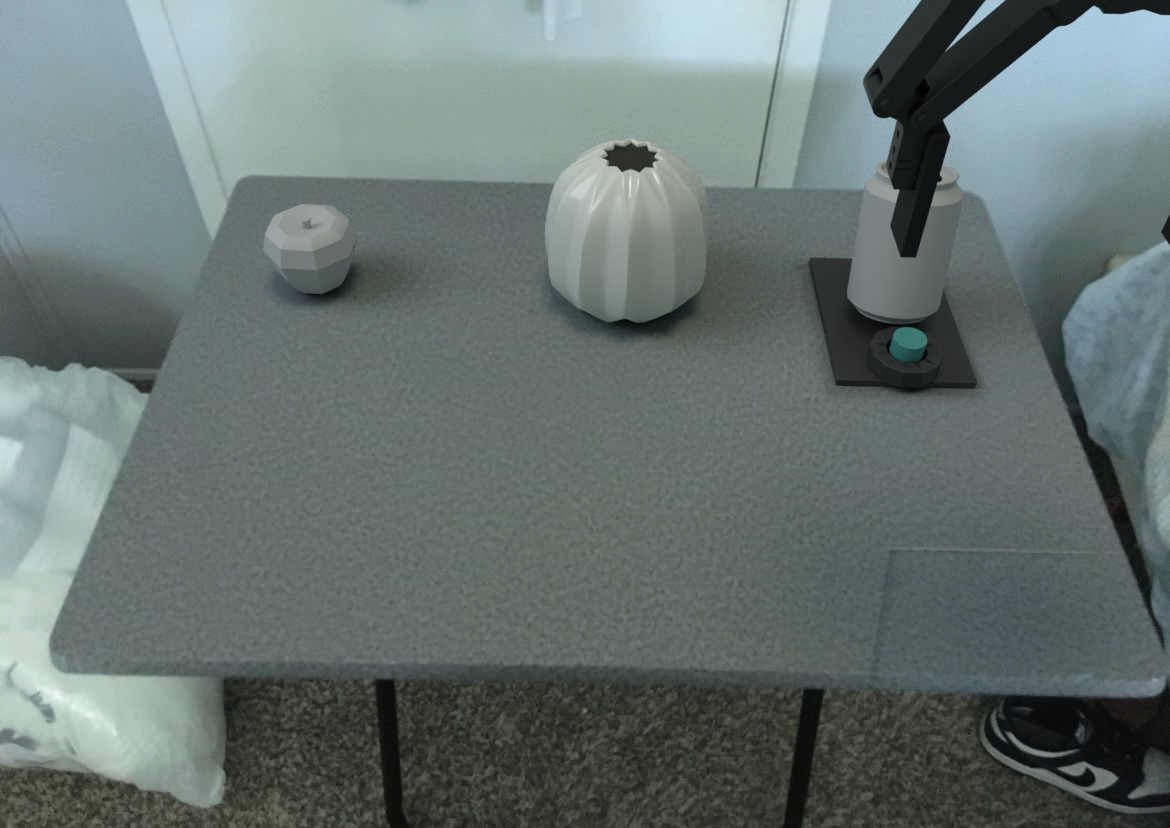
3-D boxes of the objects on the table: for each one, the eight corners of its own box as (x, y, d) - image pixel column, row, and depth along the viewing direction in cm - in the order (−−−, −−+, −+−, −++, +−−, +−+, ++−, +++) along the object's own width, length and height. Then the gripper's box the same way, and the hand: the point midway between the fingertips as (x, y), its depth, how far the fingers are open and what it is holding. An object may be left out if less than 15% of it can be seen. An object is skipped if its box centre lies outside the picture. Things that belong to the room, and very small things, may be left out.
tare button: (926, 364, 80) (930, 349, 79) (892, 363, 80) (897, 348, 79) (919, 341, 82) (923, 327, 81) (886, 341, 82) (890, 326, 81)
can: (936, 335, 82) (968, 189, 76) (840, 320, 84) (864, 177, 77) (939, 296, 88) (969, 158, 82) (849, 283, 90) (872, 148, 83)
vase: (549, 243, 94) (547, 108, 85) (701, 247, 94) (716, 113, 84) (539, 342, 84) (536, 203, 75) (709, 347, 84) (727, 208, 75)
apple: (268, 263, 92) (252, 199, 87) (357, 247, 93) (346, 184, 89) (278, 318, 86) (261, 254, 82) (372, 300, 88) (361, 237, 83)
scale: (977, 394, 81) (985, 374, 79) (837, 391, 81) (842, 371, 79) (931, 265, 93) (937, 245, 91) (808, 262, 93) (812, 242, 91)
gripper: (1524, -275, 39) (1260, 208, 54) (859, -287, 39) (779, 197, 54) (1670, -225, 33) (1332, 297, 48) (898, -239, 34) (797, 284, 48)
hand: (1040, 245), depth 51 cm, fingers open, 13 cm apart
